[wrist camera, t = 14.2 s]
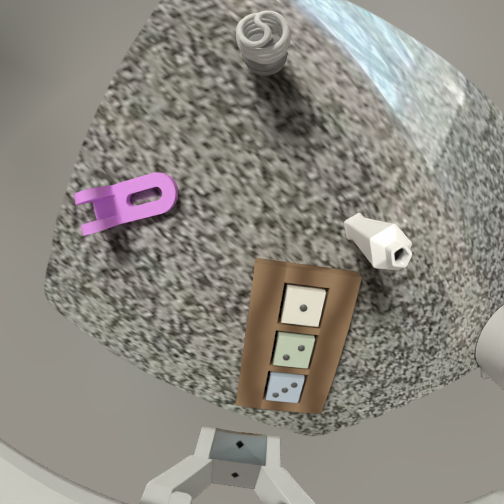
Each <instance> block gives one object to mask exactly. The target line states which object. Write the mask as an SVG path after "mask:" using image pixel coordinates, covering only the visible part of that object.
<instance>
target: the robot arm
mask: <svg viewBox="0 0 504 504" xmlns="http://www.w3.org/2000/svg"><path fill="white" fill-rule="evenodd" d="M476 361H477V363H478V365H479V366H480V368H481V376H482V377H483V378H484V379H487V378H491V379H492V380H493V381H494V382H495V383H496V384H497V385H498V386H499V387H501V388H502V389H503V390H504V305H503V306H502V307H501V308H499V309H498V310H497V311H496V312H495V313H494V314H493V315H492V317H491V318H490V319H489V320H488V322H487V323H486V325H485V327H484V328H483V330H482V332H481V334H480V337H479V339H478V342H477V346H476ZM280 439H281V438H280V437H279V436H271V435H262V434H252V433H244V432H234V431H229V430H223V429H218V428H212V427H207V426H203V427H202V429H201V433H200V436H199V440H198V444H197V447H196V451H195V454H194V456H193V455H190V456H188V457H187V458H185V459H184V460H182V461H181V462H179V463H178V464H176V465H175V466H173V467H172V468H170V469H169V470H167V471H165V472H164V473H162V474H161V475H159V476H158V477H156V478H154V479H153V480H151V481H150V482H148V483H147V486H146V488H145V491H144V494H143V496H142V499H141V501H140V503H139V504H192V501H193V500H194V499H195V498H196V497H197V496H198V495H199V494H201V493H202V492H203V491H204V490H205V489H206V488H207V487H208V486H209V485H211V483H214V484H221V485H229V486H237V487H243V488H250V489H255V492H256V493H257V495H258V496H259V498H260V500H261V501H262V503H263V504H315V503H314V502H313V500H312V499H311V498H310V497H309V496H308V495H307V494H306V493H305V491H304V490H303V489H302V488H301V487H300V486H299V485H298V483H297V482H296V481H295V480H294V479H293V478H292V476H291V475H290V474H289V473H288V472H287V470H286V469H285V468H281V441H280ZM0 504H127V503H124V502H121V501H119V500H116V499H113V498H111V497H108V496H105V495H103V494H101V493H98V492H96V491H94V490H91V489H89V488H87V487H84V486H82V485H80V484H78V483H76V482H74V481H71V480H69V479H67V478H65V477H63V476H61V475H59V474H57V473H56V472H54V471H52V470H50V469H48V468H46V467H44V466H43V465H41V464H39V463H38V462H36V461H34V460H33V459H31V458H29V457H28V456H26V455H24V454H23V453H21V452H20V451H18V450H17V449H15V448H14V447H12V446H11V445H9V444H8V443H6V442H5V441H3V440H2V439H0ZM462 504H504V492H503V491H501V490H496V491H492V492H490V493H488V494H485V495H483V496H480V497H478V498H476V499H473V500H470V501H468V502H465V503H462Z"/></svg>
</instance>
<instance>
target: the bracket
mask: <svg viewBox="0 0 504 504" xmlns="http://www.w3.org/2000/svg"><path fill="white" fill-rule="evenodd" d="M154 187H159V188H160V189H161V190H162V197H161V198H160V199H159V200H157V201H153V202H149V203H146V204H142V205H138V206H134V205H132V204H131V202H130V197H131V195H132V194H133V193H136V192H140V191H143V190H147V189H151V188H154ZM74 197H75V202H76V205H79V204H84V203H90V202H93V204H94V209H95V214H96V218H97V221H93V222H90V223H87V224H83V225H81V229H82V233H83V236H84V235H88V234H91V233H95V232H98V231H101V230H105V229H107V228H110V227H113V226H116V225H119V224H122V223H126V222H130V221H134V220H138V219H142V218H146V217H150V216H154V215H158V214H162V213H165V212H167V211H169V210H170V209H172V208H173V207H174V205H175V204H176V202H177V199H178V187H177V184H176V182H175V181H174V179H173V178H172V177H171V176H169V175H167V174H165V173H151V174H148V175H144V176H141V177H138V178H134V179H131V180H128V181H125V182H122V183H118V184H115V185H112V186H104V187H95V188H91V189H87V190H83V191H80V192H78V193H75V194H74Z"/></svg>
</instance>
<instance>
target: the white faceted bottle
mask: <svg viewBox="0 0 504 504" xmlns="http://www.w3.org/2000/svg"><path fill="white" fill-rule="evenodd" d="M344 225H345V231H346V237H347V239H348V240H353V241H354V242H355V244H356V245H357V246H358V247H359V249H360V250H361V251H362V252H363V254H364V255H365V256H366V258H367V259H368V260H369V262H370V263H371V264H372V266H373V267H374V268H380V269H390V270H400V268H401V267H406V266H407V264H408V262H409V260H410V258H411V256H412V252H411V251H410V248H411V246H412V243H411V242H410V240H409V239H408V238H407V237H406V236H405V235H404V234H403V232H402V231H401V230H400V229H399V228H398V227H397V226H396V225H395V224H391V223H386V222H381V221H376V220H372V219H367V218H364V217H363V215H362V214H360V213H358V214H356V215H354V216H353V217H351V218H349V219H347V220H346V221H345V222H344Z"/></svg>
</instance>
